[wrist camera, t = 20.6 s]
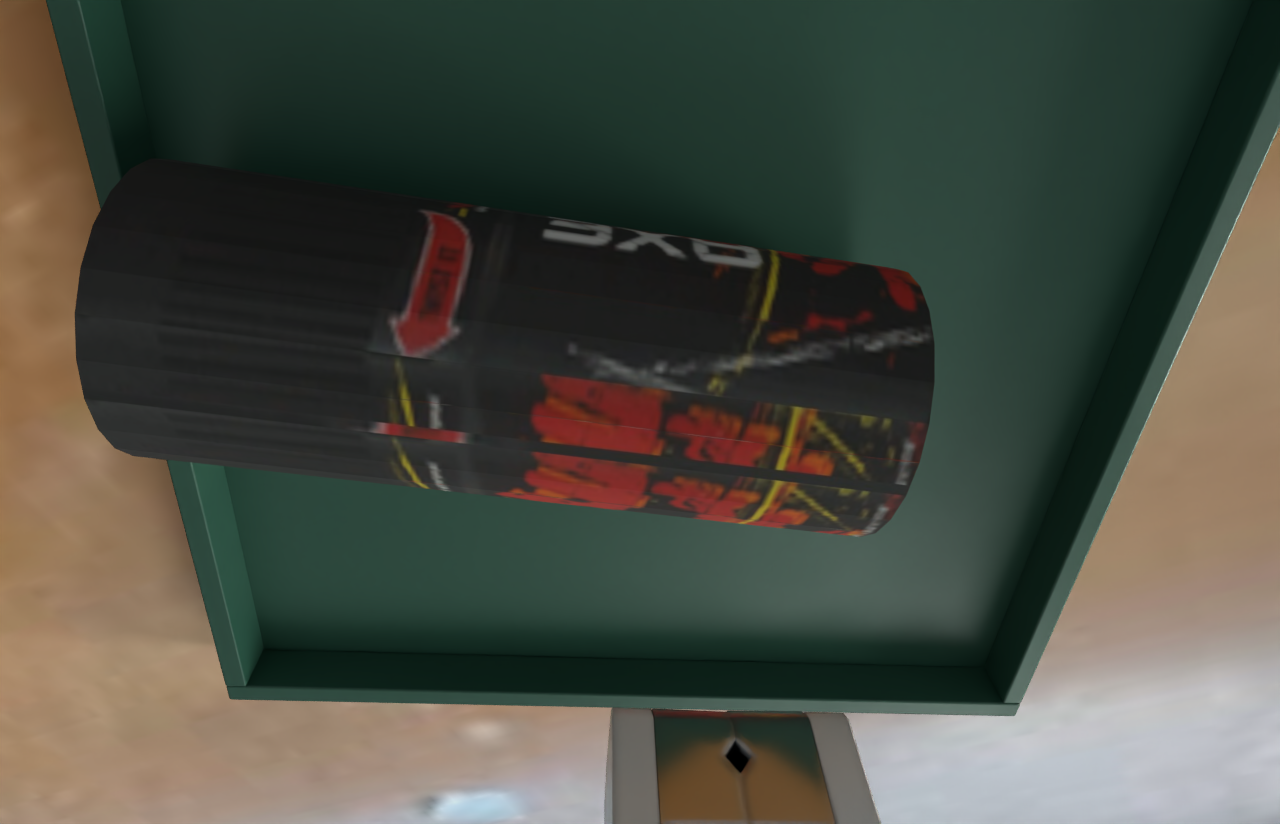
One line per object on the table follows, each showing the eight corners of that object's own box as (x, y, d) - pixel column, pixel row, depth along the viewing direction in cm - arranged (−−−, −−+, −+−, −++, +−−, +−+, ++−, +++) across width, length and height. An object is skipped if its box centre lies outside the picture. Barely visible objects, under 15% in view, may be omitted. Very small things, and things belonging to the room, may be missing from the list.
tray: (990, 667, 28) (1015, 717, 26) (254, 649, 26) (229, 700, 24) (1331, -168, 16) (1419, -181, 14) (36, -295, 14) (-42, -326, 13)
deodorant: (808, 498, 22) (212, 429, 20) (847, 271, 21) (230, 179, 19) (900, 576, 16) (66, 487, 14) (959, 263, 15) (83, 129, 13)
